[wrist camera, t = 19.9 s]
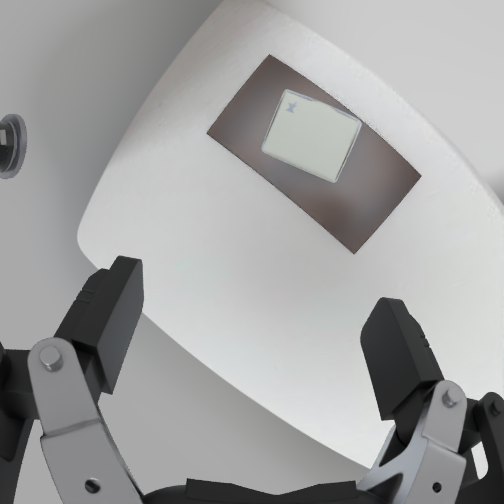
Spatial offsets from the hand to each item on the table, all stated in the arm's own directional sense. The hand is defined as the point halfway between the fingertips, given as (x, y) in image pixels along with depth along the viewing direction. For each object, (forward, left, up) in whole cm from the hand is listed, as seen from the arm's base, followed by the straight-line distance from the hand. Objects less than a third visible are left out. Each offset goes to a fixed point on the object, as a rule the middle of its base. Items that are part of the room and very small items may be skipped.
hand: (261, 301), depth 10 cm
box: (-3, +5, -22) cm, 23 cm away
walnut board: (-3, +6, -23) cm, 23 cm away
